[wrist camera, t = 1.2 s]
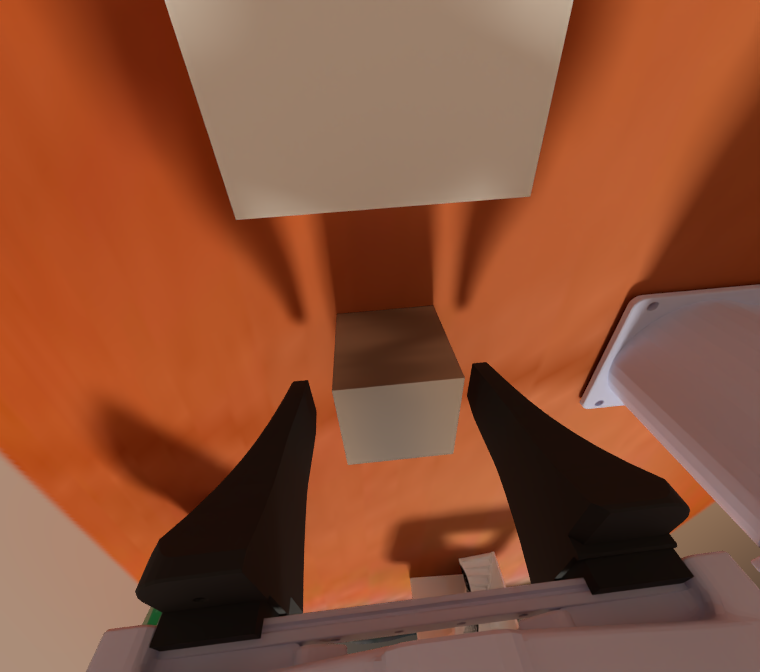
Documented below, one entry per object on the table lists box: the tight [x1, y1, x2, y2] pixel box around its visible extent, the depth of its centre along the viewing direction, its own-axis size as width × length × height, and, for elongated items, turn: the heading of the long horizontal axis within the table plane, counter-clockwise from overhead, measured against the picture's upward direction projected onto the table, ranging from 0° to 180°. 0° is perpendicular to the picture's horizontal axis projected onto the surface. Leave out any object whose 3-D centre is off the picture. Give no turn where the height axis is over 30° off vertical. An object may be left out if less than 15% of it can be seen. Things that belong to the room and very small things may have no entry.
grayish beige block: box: [332, 305, 465, 465], centre depth 14 cm, size 5×5×5 cm
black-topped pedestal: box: [410, 552, 519, 640], centre depth 31 cm, size 28×26×13 cm
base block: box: [164, 0, 573, 220], centre depth 8 cm, size 9×9×3 cm
